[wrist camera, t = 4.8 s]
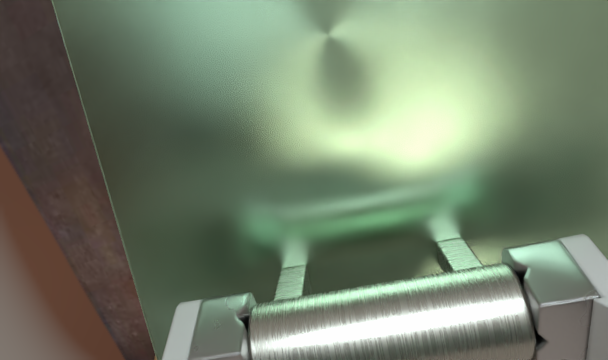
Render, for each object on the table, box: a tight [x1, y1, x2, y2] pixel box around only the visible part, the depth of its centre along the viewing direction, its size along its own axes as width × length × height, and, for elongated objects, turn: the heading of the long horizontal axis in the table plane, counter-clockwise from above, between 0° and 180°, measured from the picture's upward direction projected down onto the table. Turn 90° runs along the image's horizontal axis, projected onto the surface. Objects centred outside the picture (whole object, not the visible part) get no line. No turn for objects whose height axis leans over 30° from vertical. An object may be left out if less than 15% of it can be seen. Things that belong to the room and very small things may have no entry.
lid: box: [51, 0, 608, 360], centre depth 10 cm, size 17×13×5 cm
